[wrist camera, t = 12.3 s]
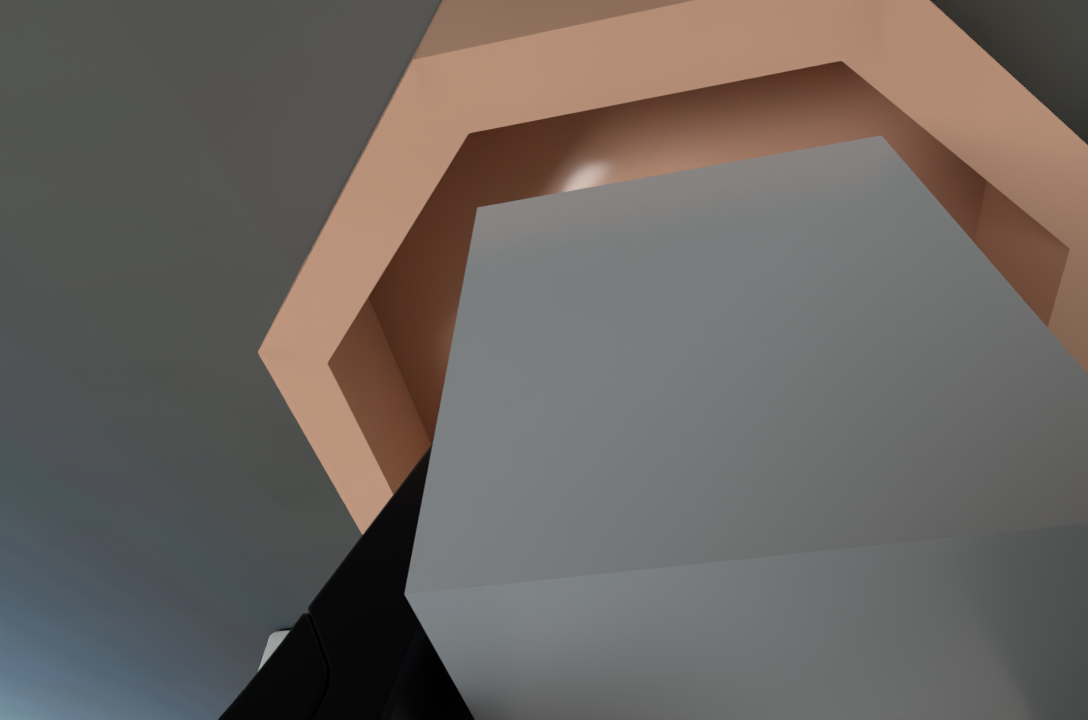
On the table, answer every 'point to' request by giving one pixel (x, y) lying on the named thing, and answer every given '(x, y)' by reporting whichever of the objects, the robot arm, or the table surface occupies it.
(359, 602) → the robot arm
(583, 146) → the terracotta dish
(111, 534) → the table surface
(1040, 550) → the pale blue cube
